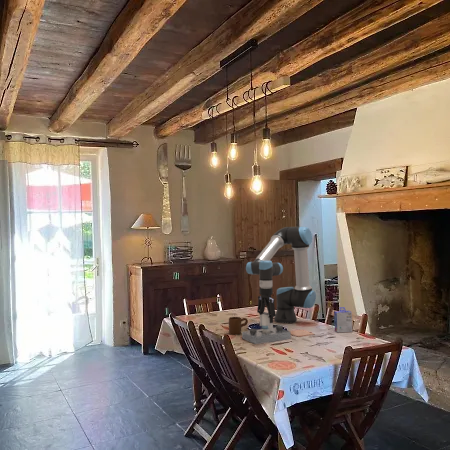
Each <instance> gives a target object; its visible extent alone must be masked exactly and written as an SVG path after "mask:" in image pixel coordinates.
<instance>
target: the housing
mask: <svg viewBox="0 0 450 450" xmlns="http://www.w3.org/2000/svg"><path fill="white" fill-rule="evenodd" d="M290 331H291V330H290ZM290 331H289V330H286V329H281V331H278V329H276V326H275V327H274V326H273V328H272V329H271V333H266V334H264V333H262V328H260V329H257V333H255V334H253V335H252V334H251V333H250V331H249V330H245V331H241V334H242V335H241V336H242V337H241V338H242V340H245V341H246V342H249V343H251V344H253V345H258V344H264V343H265V344H266V343H271V342H279V341H284V340H291V337H292V335H291V332H290Z"/></svg>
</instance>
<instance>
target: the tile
mask: <svg viewBox="0 0 450 450" xmlns="http://www.w3.org/2000/svg"><path fill="white" fill-rule="evenodd" d="M290 332H291V336H293V337H296V338H301V337H308V336H314V335H315V333H314V332H311V331H308V330H304V329H298V330H297V329H296V330H290Z"/></svg>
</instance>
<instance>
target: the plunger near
mask: <svg viewBox="0 0 450 450" xmlns="http://www.w3.org/2000/svg"><path fill="white" fill-rule="evenodd" d="M257 330H258V329H256V328H250V329H249V330H248V331H250V333H251V334H252V335H253V334H255V333H257Z"/></svg>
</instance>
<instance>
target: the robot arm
mask: <svg viewBox="0 0 450 450" xmlns="http://www.w3.org/2000/svg"><path fill="white" fill-rule="evenodd" d="M312 243H313V234H312V231H311V229H310V228H309V227H307V226H285V227H282V228H280V229H278V230H277V231H276V232H274V234H272V236H271V237H270V241H269V242H268V243H267V244H266V245H265V247H264V248H263V249H262V251H260V253H259V254H258V255H257V256H256V258H255V259H254V261H248V262H247V263H246V266H245V270H246V273H247V274H248V275H255V276H256V275H258V277H259V278H258V279H259V282H258V284H259V289H258V291H259V292H258V293H259V295H258V296H257V314H259V327H262V314H263V312H265V309H266V310H267V313H268V314H269V316H268V329H272V328H274V322H275V323H278V324H294V323H297V315H296V312H295V308H300V309H301V308H302V309H311V308H313V307H314V305H315V304H316V298H317V294H316V291H315V290H313V287H312V286H311V285H310V273H309V271H310V270H309V258H308V254H309V253H308V249H309V248H310V245H312ZM285 245H291V246H290V247H291V249H292V250H293V252H294V253H293V255H294V269H295V284H296V285H295V286H285V287H279V288H277V289H276V307H275V298H272V295H273V289H274V288H273V284H274V283H273V276H279V275H281V274H282V273H283V271H284V267H283V265H282V264H281V263H280V262H272V260H271V259H273V257H274V256H275V255H276V253H277V252H278V251H279V249H280V248H282V247H284V246H285Z"/></svg>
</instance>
